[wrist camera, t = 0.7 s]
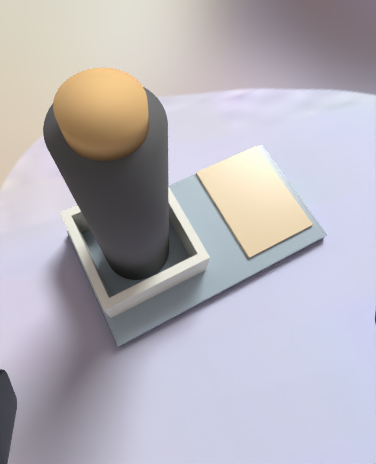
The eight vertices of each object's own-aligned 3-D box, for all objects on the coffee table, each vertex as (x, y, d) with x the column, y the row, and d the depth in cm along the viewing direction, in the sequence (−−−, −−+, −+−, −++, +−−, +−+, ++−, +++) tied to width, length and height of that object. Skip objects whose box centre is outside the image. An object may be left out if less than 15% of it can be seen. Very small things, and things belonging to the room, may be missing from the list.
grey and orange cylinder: (180, 262, 23) (191, 127, 11) (121, 291, 22) (60, 180, 10) (152, 211, 24) (133, 39, 12) (95, 236, 23) (14, 79, 11)
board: (323, 237, 24) (343, 219, 21) (118, 346, 21) (110, 341, 18) (260, 148, 27) (270, 122, 24) (68, 233, 24) (55, 214, 21)
